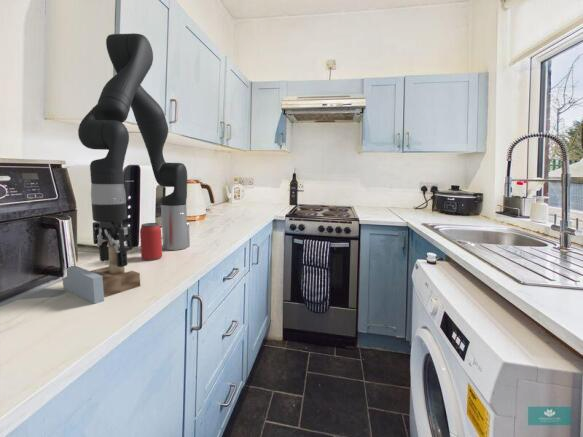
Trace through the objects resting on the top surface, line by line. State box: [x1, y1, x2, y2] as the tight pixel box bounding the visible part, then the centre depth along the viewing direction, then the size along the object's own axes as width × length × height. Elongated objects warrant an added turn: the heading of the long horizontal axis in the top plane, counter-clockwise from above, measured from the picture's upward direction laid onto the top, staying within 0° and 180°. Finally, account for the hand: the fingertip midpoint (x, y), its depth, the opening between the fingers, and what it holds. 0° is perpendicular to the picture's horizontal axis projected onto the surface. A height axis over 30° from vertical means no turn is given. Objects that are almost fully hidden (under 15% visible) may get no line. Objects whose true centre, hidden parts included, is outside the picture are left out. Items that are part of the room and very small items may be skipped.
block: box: [90, 266, 141, 298], centre depth 78 cm, size 10×12×4 cm
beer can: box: [139, 222, 163, 261], centre depth 103 cm, size 7×7×12 cm
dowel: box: [108, 241, 126, 276], centre depth 79 cm, size 4×4×12 cm
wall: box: [62, 264, 105, 305], centre depth 72 cm, size 2×16×6 cm, turn 58°
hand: (113, 263), depth 78 cm, fingers open, 8 cm apart
